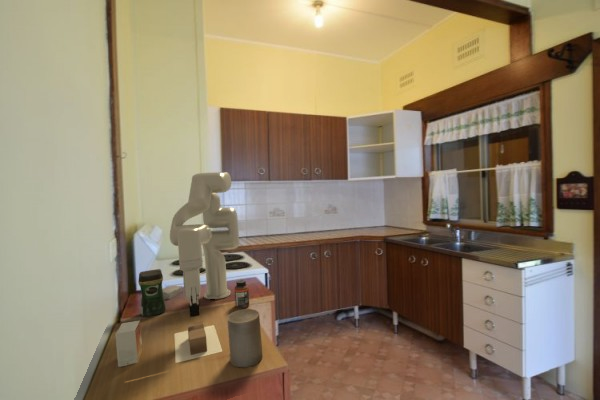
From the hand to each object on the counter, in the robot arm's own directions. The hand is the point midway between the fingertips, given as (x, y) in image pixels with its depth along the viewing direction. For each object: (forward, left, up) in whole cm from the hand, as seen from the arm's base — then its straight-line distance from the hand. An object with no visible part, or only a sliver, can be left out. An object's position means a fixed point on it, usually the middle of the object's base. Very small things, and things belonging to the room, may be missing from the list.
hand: (194, 315), depth 110 cm
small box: (+3, -20, -9) cm, 22 cm away
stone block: (-55, -9, -9) cm, 56 cm away
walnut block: (-1, 0, -6) cm, 6 cm away
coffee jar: (-34, -15, -9) cm, 38 cm away
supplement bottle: (-22, +21, -9) cm, 31 cm away
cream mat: (+3, 0, -8) cm, 9 cm away
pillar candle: (+20, +13, -9) cm, 26 cm away
